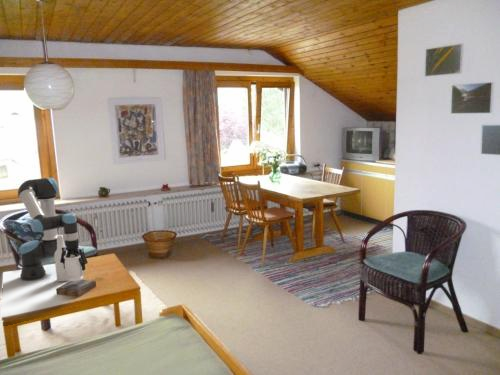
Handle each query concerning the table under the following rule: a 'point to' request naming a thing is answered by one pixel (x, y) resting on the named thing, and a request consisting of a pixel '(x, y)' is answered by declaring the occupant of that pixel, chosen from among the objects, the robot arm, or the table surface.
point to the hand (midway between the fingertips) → (75, 274)
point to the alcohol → (59, 266)
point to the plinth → (76, 288)
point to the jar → (73, 268)
